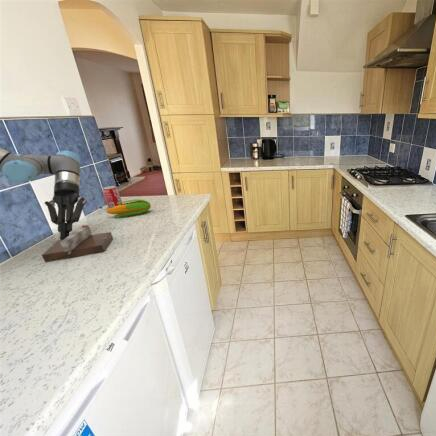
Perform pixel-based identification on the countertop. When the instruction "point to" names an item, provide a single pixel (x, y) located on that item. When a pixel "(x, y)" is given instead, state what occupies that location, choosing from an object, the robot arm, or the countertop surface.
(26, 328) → the countertop surface
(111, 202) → the soda can
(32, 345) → the countertop surface
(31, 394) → the countertop surface
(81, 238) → the grey bar
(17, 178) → the robot arm
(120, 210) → the corn
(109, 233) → the base
